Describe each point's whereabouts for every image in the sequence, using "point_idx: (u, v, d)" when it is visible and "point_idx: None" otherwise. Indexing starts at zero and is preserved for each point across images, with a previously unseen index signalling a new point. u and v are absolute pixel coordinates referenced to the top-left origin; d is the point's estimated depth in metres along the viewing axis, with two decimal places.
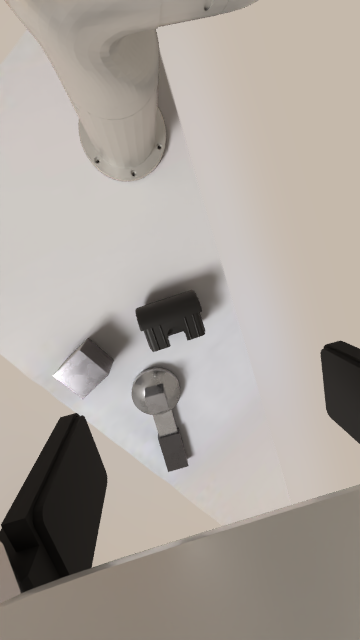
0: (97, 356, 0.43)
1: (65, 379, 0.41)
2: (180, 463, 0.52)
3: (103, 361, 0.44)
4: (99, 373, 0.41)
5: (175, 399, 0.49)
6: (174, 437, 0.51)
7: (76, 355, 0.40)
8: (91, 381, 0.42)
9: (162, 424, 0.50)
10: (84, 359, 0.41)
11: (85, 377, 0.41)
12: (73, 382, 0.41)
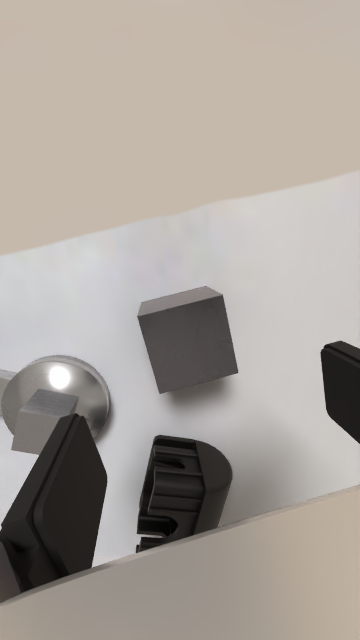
0: None
1: (201, 312, 0.18)
2: None
3: None
4: (172, 379, 0.19)
5: None
6: None
7: (232, 361, 0.19)
8: (165, 356, 0.18)
9: None
10: (215, 370, 0.19)
11: (181, 350, 0.18)
12: (184, 322, 0.18)
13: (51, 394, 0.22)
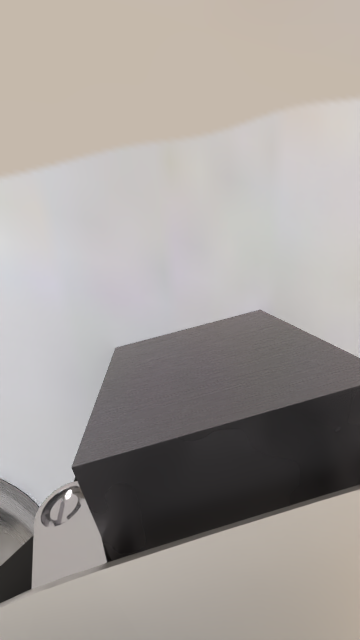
0: None
1: (312, 439, 0.05)
2: None
3: None
4: None
5: None
6: None
7: None
8: None
9: None
10: None
11: None
12: (250, 475, 0.05)
13: None
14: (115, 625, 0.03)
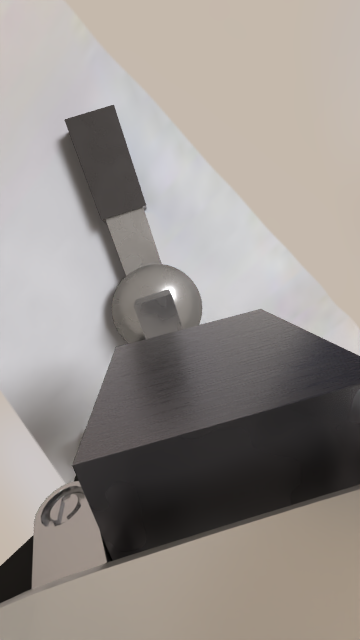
0: None
1: (313, 438, 0.05)
2: (86, 130, 0.22)
3: None
4: None
5: (119, 298, 0.25)
6: (110, 208, 0.23)
7: None
8: None
9: (139, 241, 0.24)
10: None
11: None
12: (250, 474, 0.05)
13: None
14: (115, 625, 0.03)
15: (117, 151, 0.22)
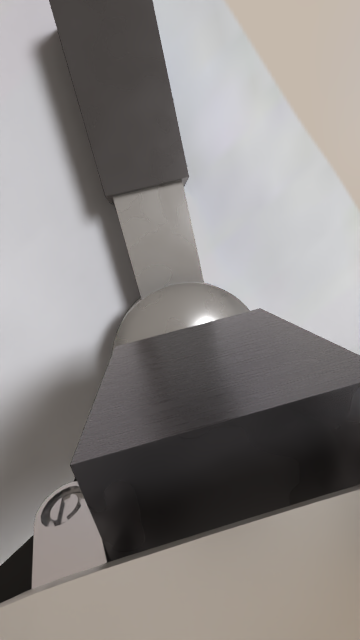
0: None
1: (311, 436, 0.05)
2: (88, 16, 0.11)
3: None
4: None
5: (127, 337, 0.15)
6: (124, 177, 0.13)
7: None
8: None
9: (169, 240, 0.14)
10: None
11: None
12: (249, 473, 0.05)
13: None
14: (115, 625, 0.03)
15: (145, 67, 0.12)
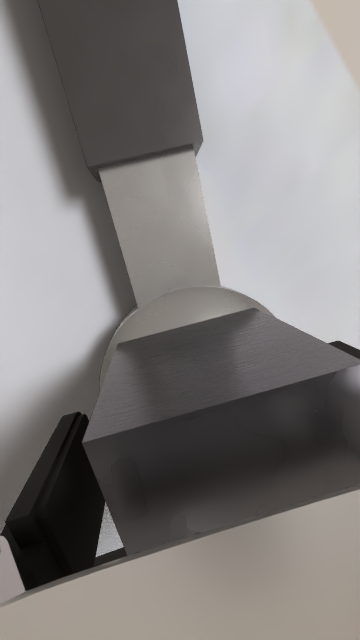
0: None
1: (293, 419, 0.06)
2: None
3: None
4: None
5: None
6: (113, 140, 0.09)
7: None
8: None
9: (175, 230, 0.10)
10: None
11: (224, 525, 0.06)
12: (238, 452, 0.06)
13: None
14: (115, 625, 0.03)
15: None
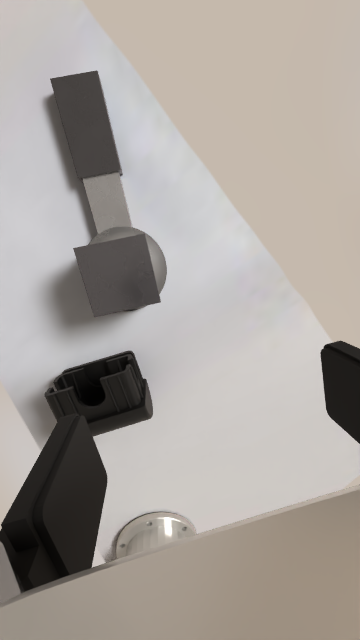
0: None
1: (127, 248, 0.22)
2: (70, 91, 0.23)
3: None
4: (104, 305, 0.23)
5: None
6: (87, 168, 0.25)
7: (154, 292, 0.23)
8: (98, 284, 0.22)
9: (112, 203, 0.26)
10: (141, 298, 0.23)
11: (111, 279, 0.22)
12: (113, 256, 0.22)
13: None
14: (115, 625, 0.03)
15: (97, 115, 0.24)
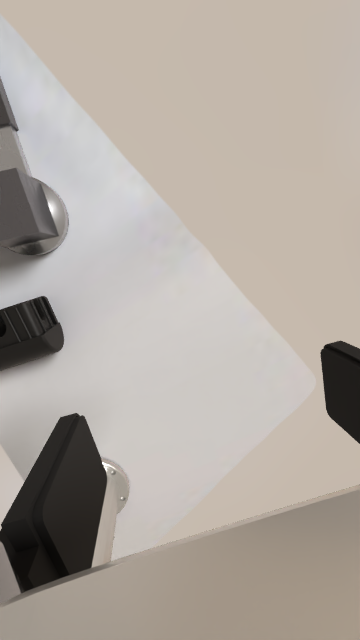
0: (21, 240, 0.29)
1: (1, 181, 0.25)
2: None
3: (10, 243, 0.29)
4: None
5: None
6: None
7: (32, 222, 0.26)
8: None
9: (7, 153, 0.30)
10: (21, 228, 0.26)
11: None
12: None
13: None
14: (115, 625, 0.03)
15: None
